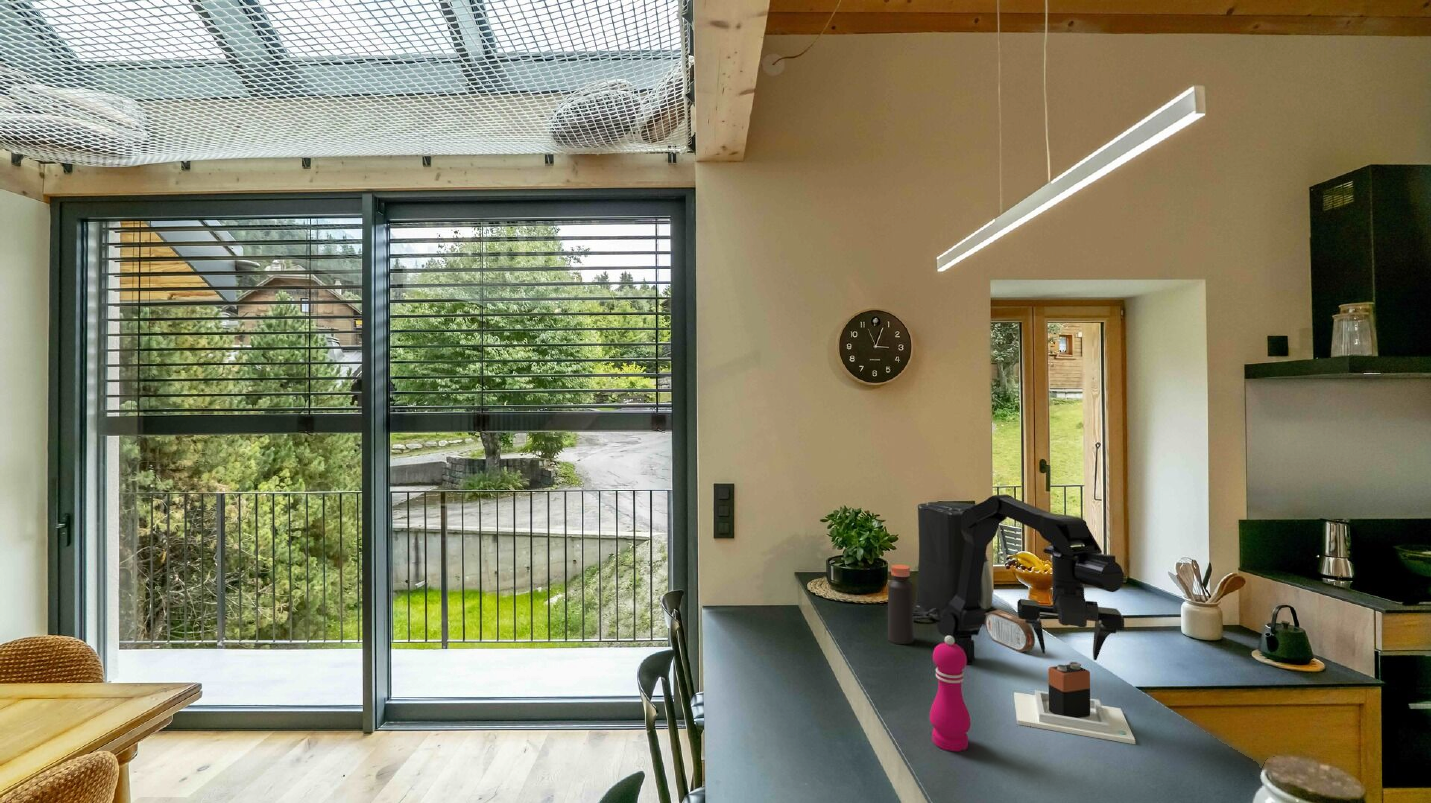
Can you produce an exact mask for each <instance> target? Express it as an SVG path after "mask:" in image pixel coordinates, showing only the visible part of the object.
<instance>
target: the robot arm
mask: <svg viewBox="0 0 1431 803" xmlns="http://www.w3.org/2000/svg"><path fill="white" fill-rule="evenodd" d="M974 505H975V506H973V507H971V508H968V509H966V510H964V511H963V512H962V515H961V532H962V534H963V536H964V539H965V547H964V553H963V560H962V566H961V572H960V578H959V585H958V591H957V595H956V596H955V597H954V598H953V600H952V601H951V602H950V603H949V605H948V608H947V612H946V616H945V617H944V618H943V619H942V620H941V621H939V622H938V623H937V624H936V625H937V630H938V631H937V632H938V633H939V634H941V635H942V636H944V638H945V637H946V636H952V637H953V638H954V641H955V642H954V644H956V645H958V646H959V647H961V648H962V649H963V651H964V652H965V654H966V658H967V664H966V665H973V661H974V660H975V653H976V652H975V640H974V639H973V636H979V634H980V630H981V628H982V626H983V625H985V617H984V616H985V613H986V610H985V609H983V608H982V607H981V605H980V603H979V600H978V597H979V591H980V585H981V579H982V573H983V567H984V561H985V555H986V556H987V548H988V545H989V544H990V543H991V540H992V539H994V538H995V537H996V535H997V532H998V530H999V526H1000V524H1001V523H1003V522H1004V521H1005V520H1007V518H1009V519H1011V520H1014V521H1016V522H1018V523H1020V524H1022V525H1024V526H1027V527H1029V528H1031V529H1033V530H1035V531H1037V532H1039V535H1040V536H1041V538H1042V539H1043V540H1046V541H1047V542H1048V543H1049V545H1048V546H1047V547H1045V548H1044V549H1042V552H1043V554H1048V555H1052V556H1051V563H1052V564H1051V568H1052V569H1051V572H1052V576H1051V577H1052V579H1051V580H1052V584H1051V586H1052V590H1051V591H1052V606H1045V605H1044V606H1043V605H1040V604H1039V601H1038V600H1036V599H1026V598H1019V599H1018V600H1017V601H1016V602H1017V603H1016V605H1017V607H1016V608H1017V609H1016V610H1017V617H1019V618H1020V619H1024V620H1025V622H1026V623H1028V624H1029V625H1031V628H1032V629H1033V632H1034V634H1035V635H1036V637H1037V640H1038V643H1039V646H1040V650H1041V653H1042V654H1044V655H1045V654H1046V645H1045V638H1044V632H1043V626H1042V625H1043V624H1042V620H1041V619H1042V618H1041V616H1042V617H1051V618H1053V617H1054V618H1057V619H1058V623H1059V624H1060V625H1062V626H1072V627H1073V626H1074V627H1078V628H1086V627H1088V626H1087V625H1088V624H1087V623H1088V621H1089V622H1094V629H1093V630H1094V631H1093V632H1094V633H1093V642H1092V658H1093V661H1097V659H1098V657H1099V654H1100V652H1101V649H1102V647H1103V645H1104V642H1105V641H1106V639H1107V638H1108V636H1110V635H1111V634H1116V633H1117V631H1124V630H1125V618H1124V616H1123V615H1122V613H1121V612H1120V611H1119V609H1117V608H1112V607H1106V606H1105V607H1103V606H1099V605H1098V602H1097V601H1093V600H1092V601H1090V600H1086V598H1085V586H1088V587H1092V588H1096V589H1098V590H1102V591H1106V592H1108V593H1109V592H1110V593H1116V592H1117V591H1118V590H1120V589H1121V588H1122V586H1123V584H1124V581H1125V573H1124V572H1123V569H1122V566H1121V565H1120V563H1118V562H1117V561H1116V555H1112V554H1104V553H1103V551H1102V549H1101V547H1100V545H1099V543H1098V542H1097V541H1096V539H1095V537H1094V535H1093V534H1092V532H1091V531H1090V528H1089V526H1088V525H1087V521H1086V520H1085V519H1083V518H1081V517H1079V516H1075V515H1070V514H1069V515H1068V514H1060V513H1053V512H1049V511H1046V510H1044V509H1041V508H1039V507H1036V506H1034V505H1031V504H1029V503H1026V502H1025V501H1022V500H1019V499H1017V498H1015V497H1013V496H1011V495H1009V494H994V495H991V496H990V497H988V498H987V499H985V500H984V501H981V502H979V503H977V504H974ZM992 541H993V540H992Z"/></svg>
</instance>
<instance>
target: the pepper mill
mask: <svg viewBox="0 0 1431 803" xmlns="http://www.w3.org/2000/svg"><path fill="white" fill-rule="evenodd" d="M954 642H955V641H954V638H953V637H952V636H946V637H945V636H944V642H942V643H940V644H937V645H936V646H935V647H934V649H933V651H932V652H933V653H932V661H933V663H934V665H935V666H936V668H935V678H937V684H938V687H937V691H936V692H937V693H936V695H935V698H934V699H933V702H932V705H931V707H930V710H929V722H930V724H931V726H932V727H933V730H932V731H931V732H932V742H933V744H934V745H935V746H937V748H940V749H942V750H945V751H948V750H951V751H950V752H962V751H961V750H963V751H965V750H966V749H968V747H969V738H968V737H969V736H968V734H967V732H968V731H969V730H970V728H971V726H972V725H971V724H972V723H971V717H970V716H971V715H970V713H969V710H968V707H967V705H966V703H965V701H964V698H963V694H962V693H963V692H962V683H963V682H964V679H965V678H964V675H965V673H964V669H965V668H966V666H967V665H968V664H967V658H966V654H965V652H964V651H963V649H962V648H961V647H959V646H958V645H956V644H954Z"/></svg>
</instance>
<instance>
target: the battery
mask: <svg viewBox="0 0 1431 803" xmlns="http://www.w3.org/2000/svg"><path fill="white" fill-rule="evenodd" d="M1047 673H1048V674H1047V675H1048V692H1049V711H1050V712H1051V713H1053V714H1055V715H1061V716H1067V717H1073V718H1080V717H1086V716H1090V699H1091V672H1090V671H1089V670H1088V669H1086V668H1083V667H1082V664H1081V663H1080V662H1077V661H1070V662H1069V664H1058V665H1056V666H1050V667H1048V672H1047Z"/></svg>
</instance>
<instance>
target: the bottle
mask: <svg viewBox="0 0 1431 803" xmlns="http://www.w3.org/2000/svg"><path fill="white" fill-rule="evenodd" d="M890 568H891V570H890V571H891V572H890V573H891V574H890V575H891V577H892V580H890V581H889V582H888V584H887V639H888V641H889V642H890V643H893V644H897V645H911V644H912V643H914V641H915V639H914V638H915V637H914V636H915V628H914V627H915V624H914V622H915V620H914V616H915V615H914V612H915V610H914V608H915V606H914V602H915V599H914V597H915V596H914V595H915V594H914V593H915V592H914V590H915V589H914V585H913V584H912V582H911V581H910V578H911V568H910V566H908V565H905V564H893V565H891V567H890Z"/></svg>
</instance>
